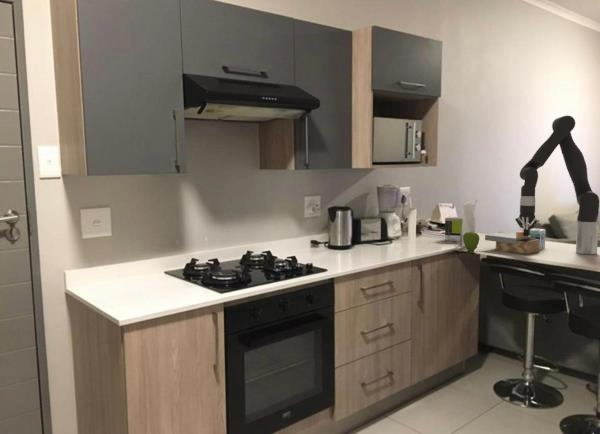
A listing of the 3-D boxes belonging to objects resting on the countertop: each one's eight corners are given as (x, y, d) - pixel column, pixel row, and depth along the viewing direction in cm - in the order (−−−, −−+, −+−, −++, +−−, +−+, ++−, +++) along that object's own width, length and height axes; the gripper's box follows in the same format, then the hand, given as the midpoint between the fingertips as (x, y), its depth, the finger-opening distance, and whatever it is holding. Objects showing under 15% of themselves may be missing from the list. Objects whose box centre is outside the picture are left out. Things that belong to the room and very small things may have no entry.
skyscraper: (473, 245, 304) (474, 199, 301) (476, 247, 296) (478, 200, 293) (459, 245, 305) (460, 199, 302) (462, 247, 297) (463, 200, 294)
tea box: (472, 240, 324) (473, 217, 323) (468, 242, 316) (469, 218, 314) (448, 238, 332) (449, 216, 331) (444, 240, 324) (444, 217, 322)
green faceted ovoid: (482, 251, 281) (482, 231, 280) (471, 253, 277) (472, 232, 276) (470, 249, 289) (470, 229, 288) (459, 251, 285) (459, 230, 283)
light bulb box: (541, 250, 285) (541, 230, 284) (528, 248, 289) (528, 230, 288) (545, 247, 293) (546, 228, 292) (532, 246, 298) (533, 228, 296)
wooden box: (539, 252, 278) (539, 239, 277) (526, 254, 270) (526, 241, 270) (508, 248, 292) (509, 236, 292) (495, 250, 285) (496, 238, 284)
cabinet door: (531, 241, 282) (531, 230, 282) (516, 244, 273) (516, 233, 273) (500, 237, 297) (500, 227, 297) (485, 240, 289) (485, 229, 288)
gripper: (543, 204, 271) (541, 236, 273) (519, 203, 282) (518, 234, 284) (535, 205, 267) (534, 238, 269) (512, 204, 277) (511, 235, 279)
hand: (526, 236), depth 276 cm, fingers closed
